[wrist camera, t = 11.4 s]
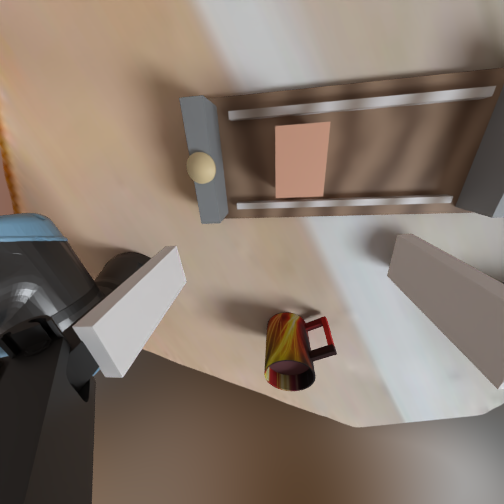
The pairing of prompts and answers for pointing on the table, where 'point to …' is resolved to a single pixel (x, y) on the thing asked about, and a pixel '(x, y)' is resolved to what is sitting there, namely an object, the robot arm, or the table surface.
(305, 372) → the mug
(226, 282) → the table surface
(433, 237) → the table surface
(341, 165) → the rail track
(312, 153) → the salmon pink box
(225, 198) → the knobbed grey end panels
